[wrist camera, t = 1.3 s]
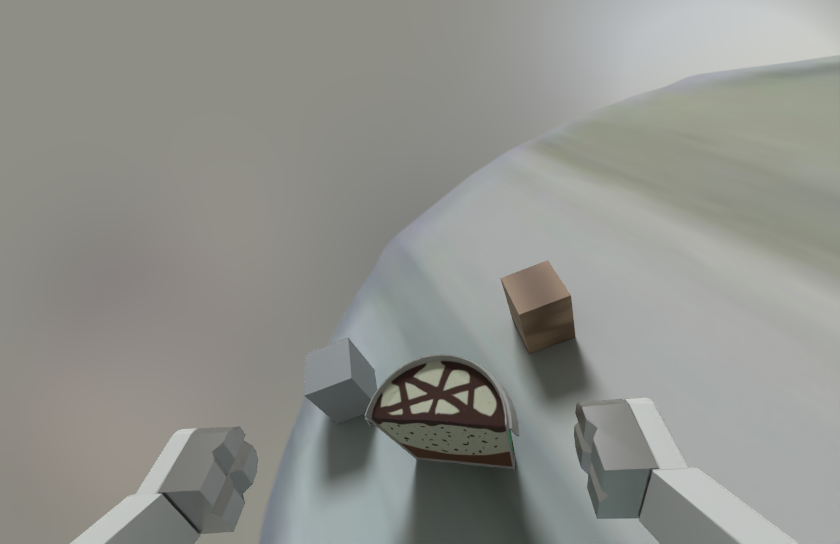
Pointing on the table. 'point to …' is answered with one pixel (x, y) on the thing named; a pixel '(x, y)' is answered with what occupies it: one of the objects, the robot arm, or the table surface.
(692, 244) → the table surface
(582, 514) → the table surface
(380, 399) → the food container
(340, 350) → the slate block
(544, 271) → the walnut block
